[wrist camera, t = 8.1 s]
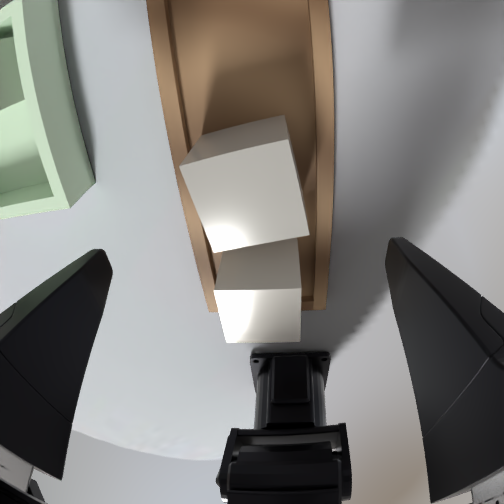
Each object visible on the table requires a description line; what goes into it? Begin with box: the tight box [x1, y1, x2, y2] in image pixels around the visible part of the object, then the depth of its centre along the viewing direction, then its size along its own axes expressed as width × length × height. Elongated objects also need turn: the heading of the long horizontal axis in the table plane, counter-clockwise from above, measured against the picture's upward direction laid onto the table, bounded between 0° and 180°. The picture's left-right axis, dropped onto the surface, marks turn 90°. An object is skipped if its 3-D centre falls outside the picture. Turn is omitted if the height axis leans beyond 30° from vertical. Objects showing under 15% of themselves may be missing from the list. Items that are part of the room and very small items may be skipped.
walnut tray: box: [146, 0, 334, 312], centre depth 15 cm, size 20×8×1 cm, turn 5°
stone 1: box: [214, 238, 301, 343], centre depth 17 cm, size 4×4×4 cm
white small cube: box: [179, 115, 309, 253], centre depth 13 cm, size 4×4×4 cm
